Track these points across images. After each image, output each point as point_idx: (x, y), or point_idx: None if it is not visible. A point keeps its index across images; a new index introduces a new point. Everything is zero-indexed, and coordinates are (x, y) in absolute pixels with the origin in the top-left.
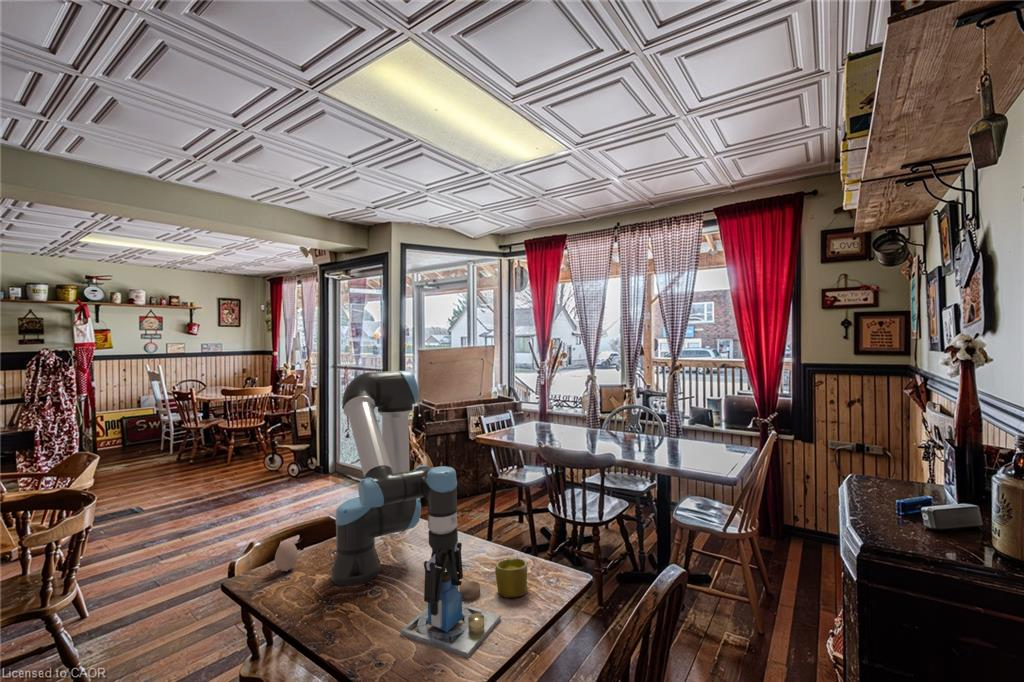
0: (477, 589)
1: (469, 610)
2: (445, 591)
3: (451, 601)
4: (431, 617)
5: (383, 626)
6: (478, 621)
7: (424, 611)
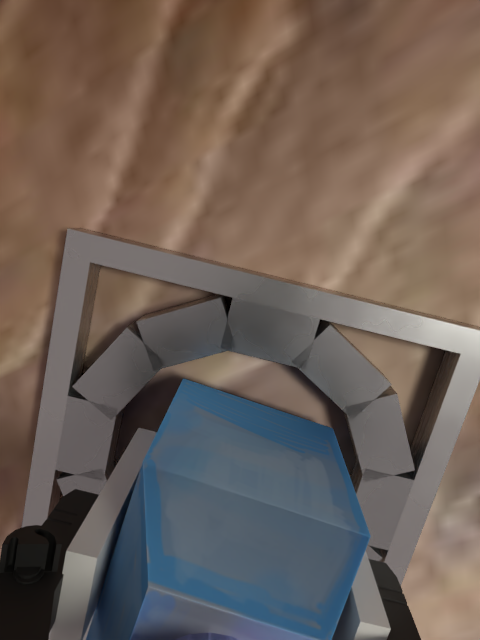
0: None
1: None
2: None
3: None
4: (124, 453)
5: (135, 52)
6: None
7: (304, 302)
